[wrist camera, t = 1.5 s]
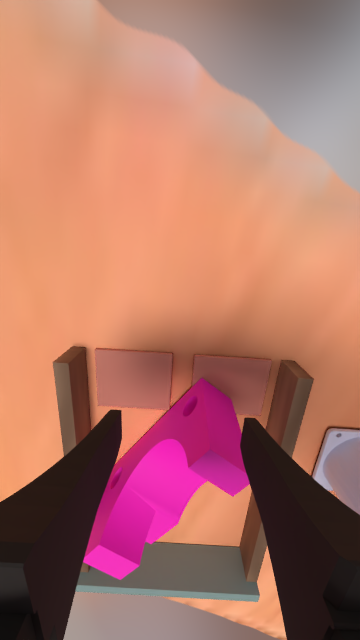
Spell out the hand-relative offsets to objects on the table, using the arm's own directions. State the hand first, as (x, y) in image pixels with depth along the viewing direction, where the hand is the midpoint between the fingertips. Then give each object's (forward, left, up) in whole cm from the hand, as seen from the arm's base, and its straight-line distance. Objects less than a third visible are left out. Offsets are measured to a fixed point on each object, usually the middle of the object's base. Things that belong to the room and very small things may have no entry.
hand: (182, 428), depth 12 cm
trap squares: (0, +2, -8) cm, 8 cm away
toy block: (0, +9, -8) cm, 12 cm away
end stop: (0, +26, -8) cm, 27 cm away
